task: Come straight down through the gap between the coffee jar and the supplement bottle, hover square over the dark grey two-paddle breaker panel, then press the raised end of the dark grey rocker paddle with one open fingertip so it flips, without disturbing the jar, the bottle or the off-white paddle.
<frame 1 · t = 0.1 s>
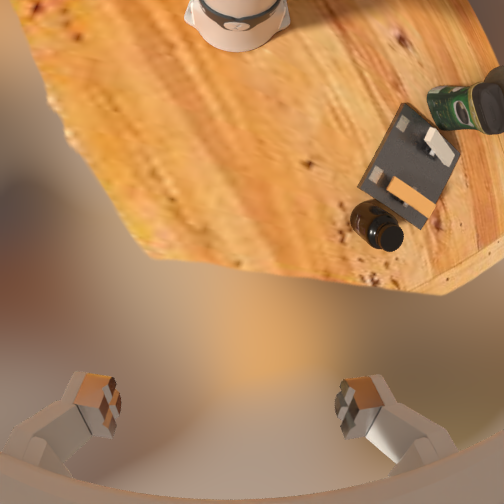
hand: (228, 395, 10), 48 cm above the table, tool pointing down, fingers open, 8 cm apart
paddle a: (411, 197, 52), point 5 cm above the table, hinge at -20.0°
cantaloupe: (486, 96, 49), on the table
coffee jar: (440, 107, 51), on the table
paddle b: (438, 147, 49), point 5 cm above the table, hinge at 20.0°
supplement bottle: (364, 217, 59), on the table
panel: (411, 167, 55), on the table
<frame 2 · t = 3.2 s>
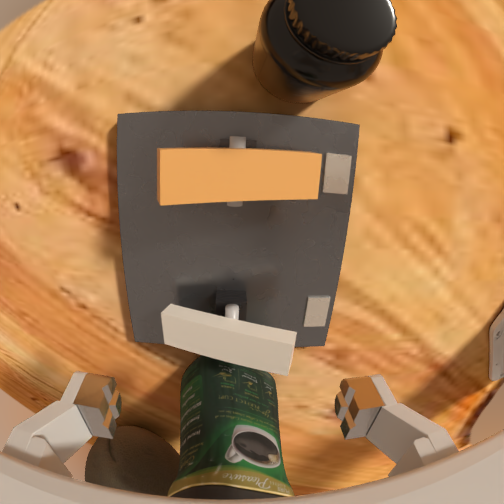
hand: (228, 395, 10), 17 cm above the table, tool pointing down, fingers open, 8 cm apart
paddle a: (240, 172, 18), point 5 cm above the table, hinge at -20.0°
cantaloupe: (148, 435, 35), on the table
coffee jar: (228, 378, 31), on the table
paddle b: (228, 336, 23), point 5 cm above the table, hinge at 20.0°
supplement bottle: (294, 63, 20), on the table
panel: (232, 238, 25), on the table
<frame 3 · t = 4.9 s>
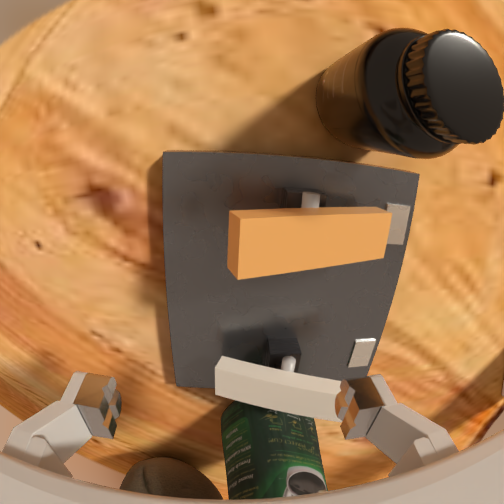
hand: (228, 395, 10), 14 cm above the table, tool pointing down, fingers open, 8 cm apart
paddle a: (314, 234, 17), point 5 cm above the table, hinge at -20.0°
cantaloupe: (177, 463, 34), on the table
coffee jar: (267, 413, 30), on the table
paddle b: (283, 387, 22), point 5 cm above the table, hinge at 20.0°
supplement bottle: (357, 102, 19), on the table
panel: (285, 286, 24), on the table
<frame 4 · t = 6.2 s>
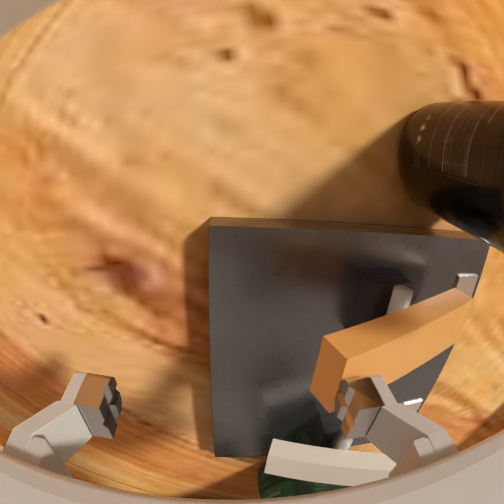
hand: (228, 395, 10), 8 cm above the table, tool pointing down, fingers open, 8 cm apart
paddle a: (401, 336, 13), point 5 cm above the table, hinge at -20.0°, touching gripper
coffee jar: (303, 465, 26), on the table
paddle b: (336, 462, 18), point 5 cm above the table, hinge at 20.0°
supplement bottle: (437, 156, 15), on the table
panel: (341, 361, 20), on the table
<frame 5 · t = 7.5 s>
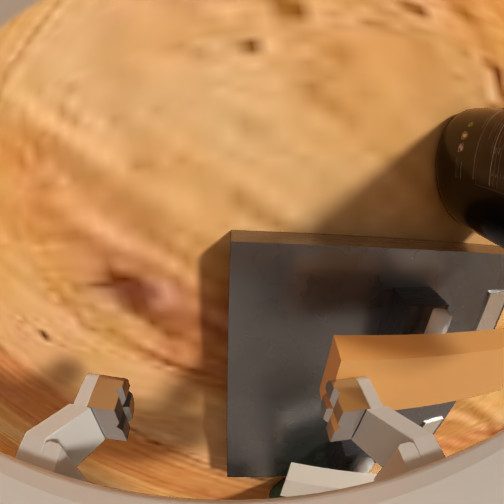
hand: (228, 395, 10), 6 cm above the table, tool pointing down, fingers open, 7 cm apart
paddle a: (432, 363, 11), point 5 cm above the table, hinge at 5.2°, touching gripper
coffee jar: (316, 481, 24), on the table
paddle b: (356, 484, 16), point 5 cm above the table, hinge at 20.0°
supplement bottle: (473, 166, 13), on the table
panel: (364, 382, 18), on the table
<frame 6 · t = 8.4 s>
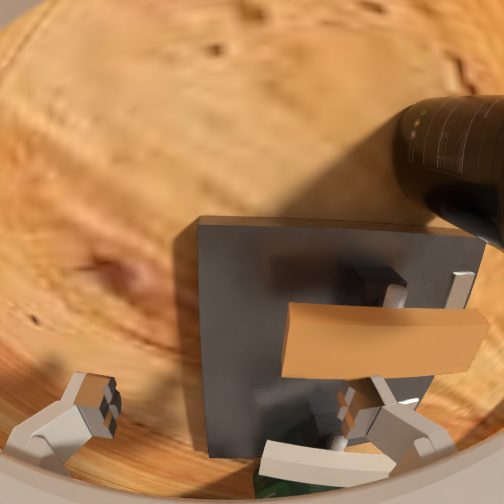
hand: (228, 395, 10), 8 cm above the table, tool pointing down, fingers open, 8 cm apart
paddle a: (390, 337, 13), point 5 cm above the table, hinge at 9.3°
coffee jar: (298, 465, 26), on the table
paddle b: (332, 463, 18), point 5 cm above the table, hinge at 20.0°
supplement bottle: (432, 153, 15), on the table
panel: (335, 361, 20), on the table
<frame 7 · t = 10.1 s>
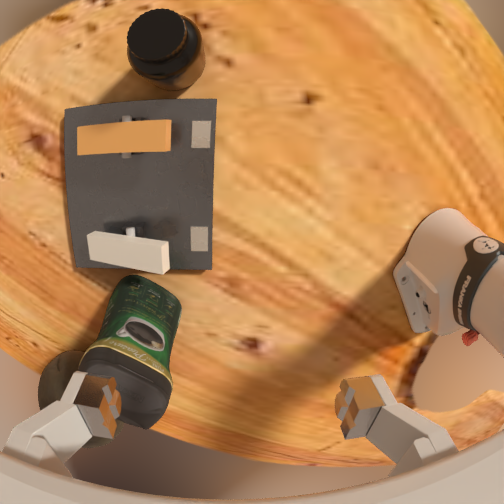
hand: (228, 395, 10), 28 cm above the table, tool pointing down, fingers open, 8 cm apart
paddle a: (123, 137, 27), point 5 cm above the table, hinge at 10.1°
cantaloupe: (94, 365, 44), on the table
coffee jar: (147, 302, 40), on the table
paddle b: (128, 249, 32), point 5 cm above the table, hinge at 20.0°
supplement bottle: (175, 63, 29), on the table
panel: (137, 186, 34), on the table
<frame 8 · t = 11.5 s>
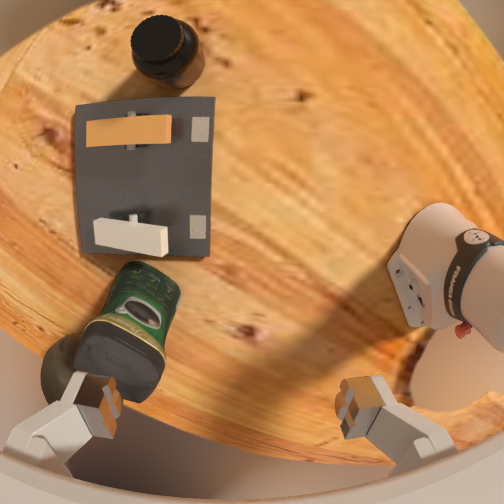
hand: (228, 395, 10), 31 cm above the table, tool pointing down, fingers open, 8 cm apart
paddle a: (128, 130, 30), point 5 cm above the table, hinge at 10.1°
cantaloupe: (97, 350, 47), on the table
coffee jar: (148, 288, 43), on the table
paddle b: (130, 234, 34), point 5 cm above the table, hinge at 20.0°
supplement bottle: (177, 64, 32), on the table
panel: (141, 177, 37), on the table
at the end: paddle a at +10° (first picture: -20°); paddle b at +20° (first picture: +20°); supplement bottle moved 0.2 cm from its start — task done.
